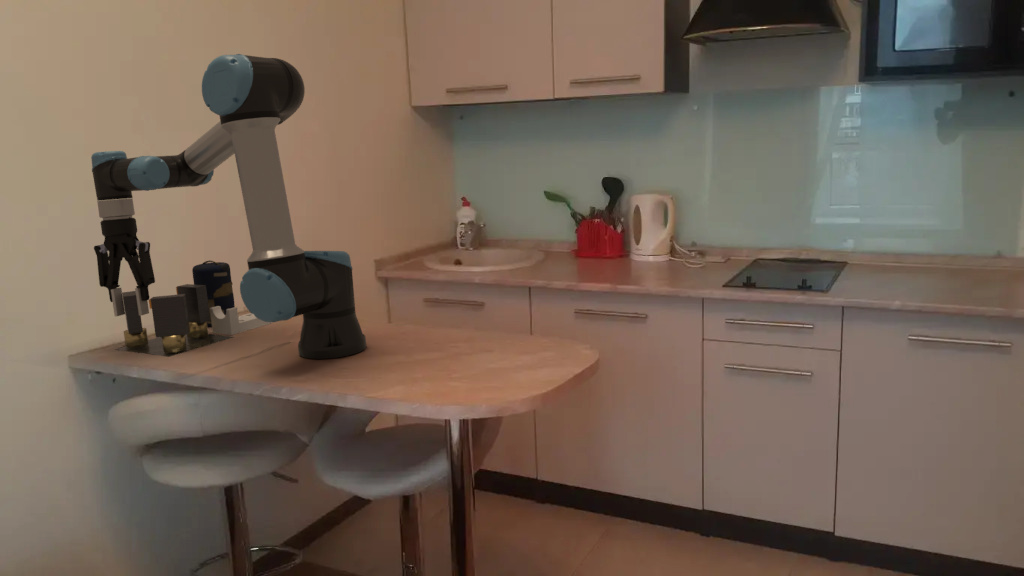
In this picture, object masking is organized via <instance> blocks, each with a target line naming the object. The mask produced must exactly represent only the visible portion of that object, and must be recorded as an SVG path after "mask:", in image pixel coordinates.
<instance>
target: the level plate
mask: <svg viewBox="0 0 1024 576" xmlns="http://www.w3.org/2000/svg"><path fill="white" fill-rule="evenodd" d="M233 338H235V336H233V335H223V334H214V333H208V335H207V336H204V337H199V338H188V337H187V334H185V339H186V347H187V349H185V350H183V351H179V352H172V353H166V352H164V350H163V343H162V337H154V338H151V339H148V345H145V346H141V347H135V348H127V347H126V345H125V346H122V347H118V348H115V349H114V350H116V351H122V352H131V353H138V354H144V355H145V354H147V355H152V356H153V355H154V356H161V357H167V358H169V357H173V356H175V355H179V354H183V353H186V352H190V351H193V350H197V349H199V348H203V347H208V346H209V345H213V344H216V343H219V342H223V341H226V340H229V339H233Z"/></svg>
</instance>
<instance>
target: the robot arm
mask: <svg viewBox="0 0 1024 576" xmlns="http://www.w3.org/2000/svg"><path fill="white" fill-rule="evenodd" d="M304 83H305V82H304V79H303V77H302V75H301V74H300V72H299V70H298V69H297V68H296V67H295V66H294V65H292V64H291V63H289V62H288V61H286V60H284V59H280V58H277V57H263V56H254V55H248V54H247V55H246V54H242V53H236V54H223V55H220V56H216V57H215V58H214V59H213V60H212V61H210V62H209V64H208V65H207V68H206V70H204V73H203V76H202V80H201V94H202V98H203V101H204V104H205V105H206V108H209V110H210V111H211V112H212V113H214V114H215V115H217V116H219V119H220V121H218V122H217V123H216V124H215V125H213V126H212V127H211V128H210V129H209V130H207V131H206V132H204V134H203V135H201V136H200V137H199V138H198V139H196V141H194V142H193V143H192V144H191V145H190V146H188V147H187V148H185V150H183V151H182V152H180V153H179V154H175V155H173V154H172V155H158V156H155V155H142V156H141V155H140V156H136V157H130V158H128V157H127V154H126V151H124V150H111V151H110V150H108V151H107V150H106V151H96V152H94V153H92V155H91V172H92V177H93V182H94V183H93V184H94V188H95V194H96V200H97V201H96V202H97V208H98V217H99V218H100V219H102V220H101V221H100V229H101V235H102V236H103V237H104V240H103V243H102V244H100V245H99V244H97V245H94V247H93V250H94V252H95V255H96V262H97V272H98V281H99V282H98V283H99V286H100V287H101V288H102V287H103V288H107V290H108V296H109V301H110V303H112V307H113V313H114V317H121V316H124V315H125V308H124V301H123V295H122V292H123V290H122V287H121V285H120V284H119V280H120V273H121V271H120V270H121V263H122V260H123V259H124V260H125V261H126V262H127V263H128V266H129V268H130V271H131V273H132V276H133V278H134V280H135V282H136V286H135V287H136V288H134V291H136V298H137V305H138V312H139V316H140V315H141V316H145V315H148V314H150V307H149V299H150V294H149V293H150V292H149V286H150V285H152V284H155V283H156V279H155V274H154V273H155V272H154V269H153V264H152V258H151V254H150V253H151V252H150V251H151V243H150V242H149V241H146V242H145V241H144V242H143V241H140V240H139V238H138V236H137V232H138V226H137V220H136V218H135V217H133V216H134V215H135V213H136V212H135V207H134V200H133V198H134V197H133V193H132V192H139V191H140V192H141V191H155V190H162V189H164V190H165V189H172V188H173V189H174V188H186V187H199V186H202V185H206V184H208V183H210V182H211V181H212V179H213V178H212V177H213V176H214V172H215V171H214V170H215V169H216V168H218V167H219V166H220V165H222V164H223V163H224V162H226V161H227V160H229V158H230V157H232V156H233V155H234V157H235V163H236V167H237V174H238V178H239V182H240V189H241V194H242V200H243V205H244V210H245V216H246V219H247V221H246V222H247V225H248V231H249V237H250V241H251V246H252V252H251V254H250V255H249V256H248V258H247V260H246V262H247V267H248V270H247V271H246V272H245V273H244V274H243V276H242V277H241V279H242V280H241V281H240V284H239V292H240V295H241V299H242V302H243V304H244V306H245V307H246V309H247V311H249V313H252V314H254V315H255V317H256V318H258V319H260V320H262V321H265V322H271V323H276V322H281V321H288V320H291V319H292V318H294V317H298V316H302V318H303V319H302V325H301V331H300V337H299V338H300V339H299V341H298V343H297V347H298V355H299V356H300V357H302V358H306V359H313V360H315V359H316V360H319V359H320V360H322V359H323V360H324V359H325V360H326V359H335V358H342V357H347V356H352V355H356V354H359V353H361V352H363V351H365V350H366V349H367V339H366V335H365V334H364V333H363V331H362V328H361V327H362V326H361V325H360V322H359V319H358V317H357V313H356V312H357V311H356V303H355V302H356V301H355V291H354V279H353V278H354V277H353V266H352V261H351V257H350V256H351V255H350V254H349V253H348V252H347V251H344V250H303V248H301V247H299V246H298V245H297V244H296V240H295V234H294V229H293V224H292V223H293V222H292V219H291V213H290V208H289V202H288V196H287V191H286V186H285V185H286V184H285V180H284V175H283V169H282V163H281V158H280V152H279V146H278V142H277V136H276V127H277V126H278V125H281V124H283V123H284V122H286V120H288V119H289V118H290V117H292V116H293V115H294V114H295V113H296V112H297V111H298V109H299V108H300V107H301V105H302V103H303V101H304V97H305V93H306V92H305V91H306V90H305V84H304Z"/></svg>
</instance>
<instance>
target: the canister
mask: <svg viewBox="0 0 1024 576" xmlns="http://www.w3.org/2000/svg"><path fill="white" fill-rule="evenodd" d="M191 271H192V278H193V279H192V280H193V285H206V290H207V298H208V306H209V314H210V308H212V307H216V306H221V310H222V312H223V314H224V315H225V316H226V309H230V308H234V307H235V306H236V305H235V295H234V292H233V291H234V290H233V281H232V274H231V267H230V264H229V263H227V262H222V261H221V262H216V261H214V260H205V261H204V262H202V263H199V264H196V265H194V266H192V270H191ZM207 327H208V328H212V323H211V315H210V321H208V322H207Z"/></svg>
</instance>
